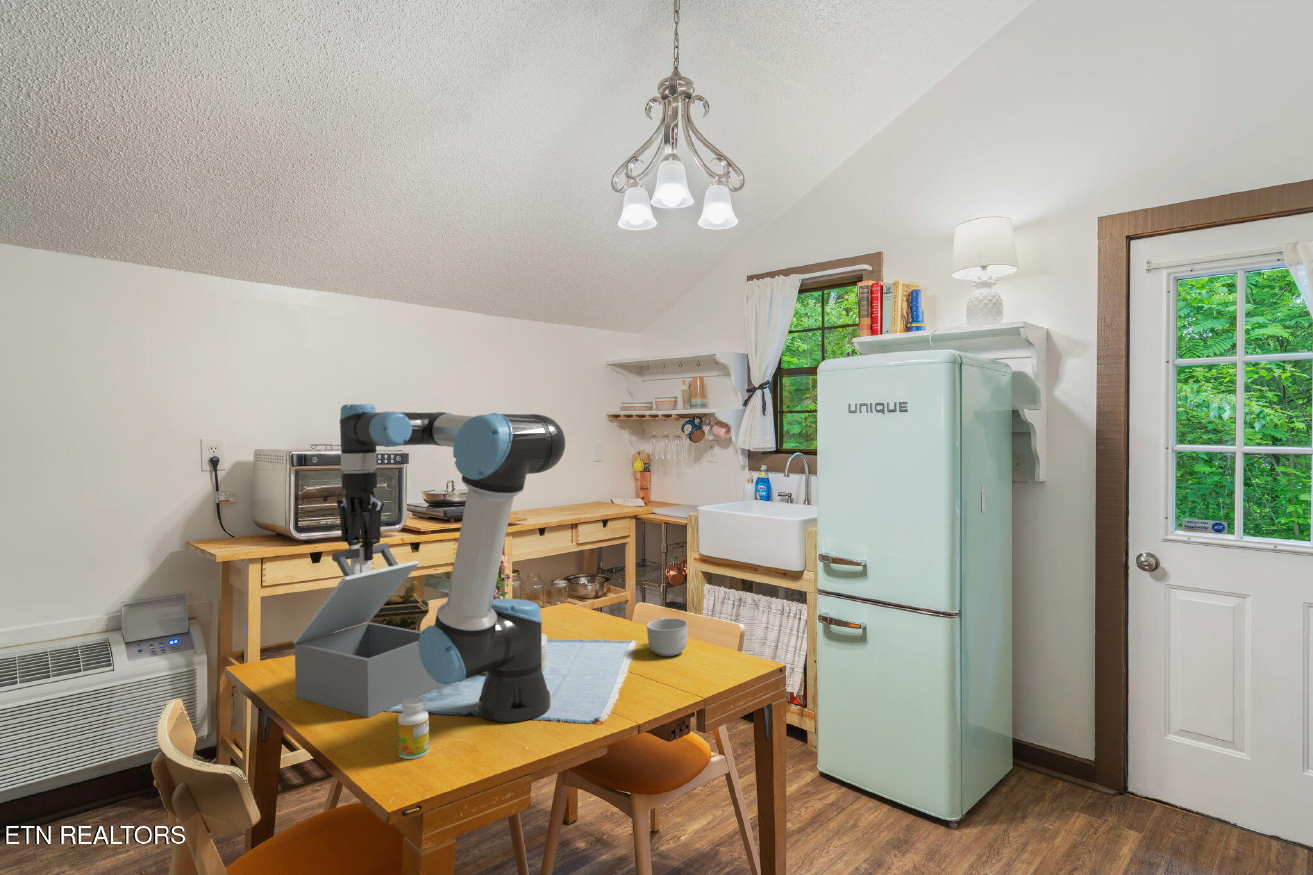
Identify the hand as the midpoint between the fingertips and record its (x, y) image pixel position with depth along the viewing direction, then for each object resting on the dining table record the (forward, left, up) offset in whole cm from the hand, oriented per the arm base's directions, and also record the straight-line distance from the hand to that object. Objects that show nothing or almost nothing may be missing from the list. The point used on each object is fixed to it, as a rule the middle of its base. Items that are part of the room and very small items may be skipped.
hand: (361, 573), depth 164 cm
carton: (-2, 0, -27) cm, 27 cm away
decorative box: (+22, -27, -27) cm, 44 cm away
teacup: (-49, -57, -27) cm, 80 cm away
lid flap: (+1, 0, -7) cm, 7 cm away
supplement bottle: (-35, +17, -27) cm, 47 cm away
